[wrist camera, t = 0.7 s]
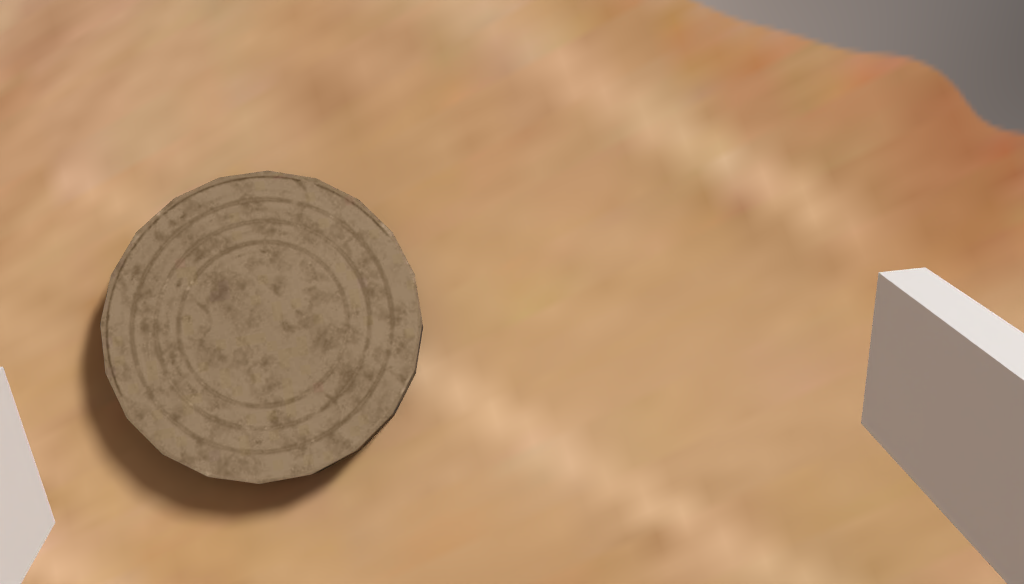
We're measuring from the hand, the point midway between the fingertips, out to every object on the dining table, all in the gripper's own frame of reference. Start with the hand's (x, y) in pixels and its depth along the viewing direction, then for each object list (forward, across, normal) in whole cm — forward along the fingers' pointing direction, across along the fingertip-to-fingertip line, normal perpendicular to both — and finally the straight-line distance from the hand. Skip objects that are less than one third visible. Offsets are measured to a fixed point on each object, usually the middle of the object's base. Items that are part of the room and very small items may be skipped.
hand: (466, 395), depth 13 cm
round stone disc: (+32, +9, +13) cm, 36 cm away
